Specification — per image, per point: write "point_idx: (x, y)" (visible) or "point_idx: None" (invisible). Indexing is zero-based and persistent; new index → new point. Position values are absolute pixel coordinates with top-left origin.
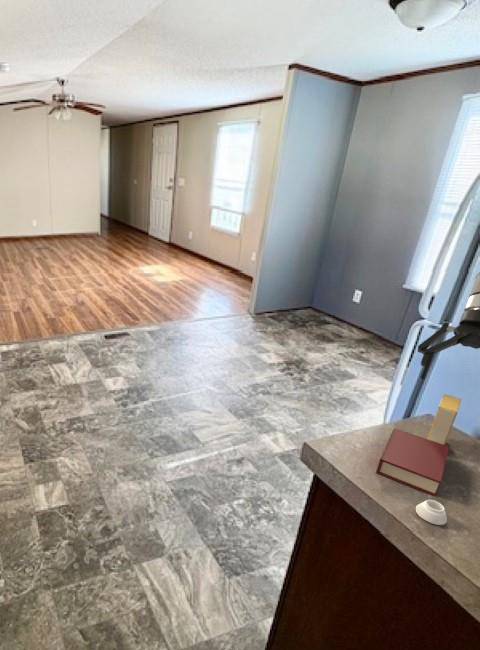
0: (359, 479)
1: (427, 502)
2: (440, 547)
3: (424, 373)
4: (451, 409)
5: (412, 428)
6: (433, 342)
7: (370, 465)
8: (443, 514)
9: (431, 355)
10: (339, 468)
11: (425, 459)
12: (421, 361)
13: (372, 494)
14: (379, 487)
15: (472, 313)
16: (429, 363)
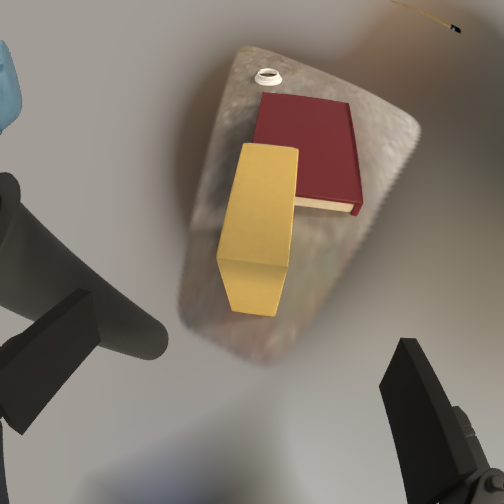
0: (353, 89)
1: (275, 78)
2: (261, 52)
3: (411, 344)
4: (261, 148)
5: (320, 279)
6: None
7: (354, 114)
8: (257, 74)
9: (462, 458)
10: (380, 98)
11: (287, 125)
12: (465, 417)
13: (332, 76)
14: (329, 86)
15: None
16: (433, 401)
